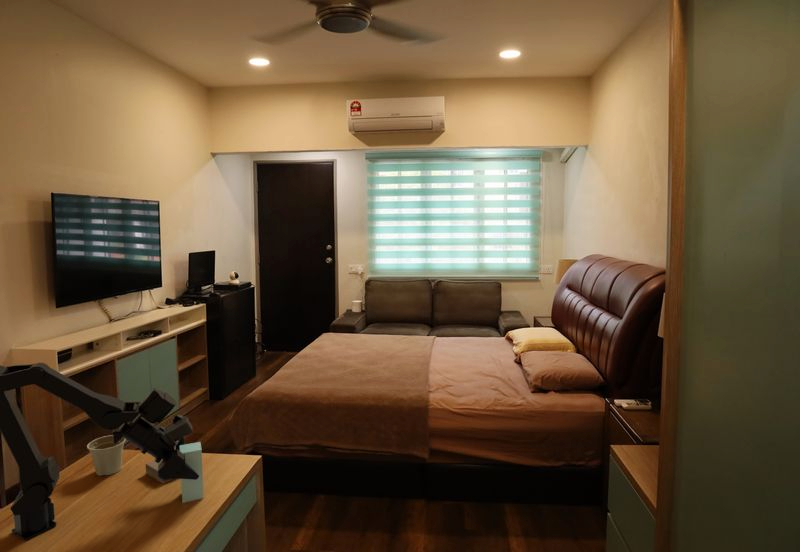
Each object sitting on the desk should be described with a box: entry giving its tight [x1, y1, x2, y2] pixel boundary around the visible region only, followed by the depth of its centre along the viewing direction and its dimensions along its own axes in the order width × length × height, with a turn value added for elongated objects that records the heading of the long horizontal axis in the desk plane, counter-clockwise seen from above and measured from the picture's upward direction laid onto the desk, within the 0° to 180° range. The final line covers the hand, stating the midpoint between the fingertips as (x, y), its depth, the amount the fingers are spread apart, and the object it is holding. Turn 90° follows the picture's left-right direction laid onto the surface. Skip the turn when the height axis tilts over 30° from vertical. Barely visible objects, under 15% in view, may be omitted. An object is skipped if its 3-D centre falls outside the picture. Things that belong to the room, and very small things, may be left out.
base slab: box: [145, 459, 174, 484], centre depth 138 cm, size 9×9×3 cm
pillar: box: [180, 441, 205, 504], centre depth 125 cm, size 5×5×13 cm
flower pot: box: [86, 434, 127, 477], centre depth 138 cm, size 9×9×9 cm
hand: (197, 469), depth 126 cm, fingers open, 9 cm apart
